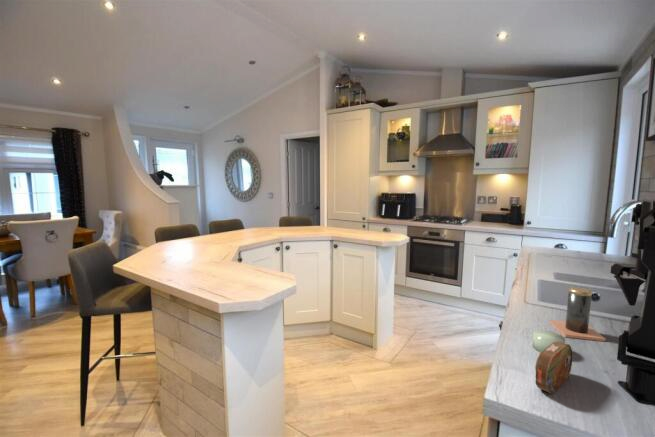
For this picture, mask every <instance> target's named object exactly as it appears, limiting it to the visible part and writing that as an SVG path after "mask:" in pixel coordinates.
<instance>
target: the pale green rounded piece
mask: <svg viewBox="0 0 655 437" xmlns="http://www.w3.org/2000/svg"><path fill="white" fill-rule="evenodd" d="M532 336H533V337H532V348H533V349H534V350H535V351H537V352H538V353H539V354H540V353H541V352H542V351H544V350H545V349H546V348H547V347H549V346H550V345H551V344H552V343H554V342H560V343H564V344H566V337H564V336H563V335H562V334H560V333H556V332H554V331H551V330H546V329H536V330H534V331H533V335H532Z"/></svg>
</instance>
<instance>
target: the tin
mask: <svg viewBox="0 0 655 437" xmlns="http://www.w3.org/2000/svg"><path fill="white" fill-rule="evenodd" d="M572 363H573V349H572V347H571V345H570V344H568V343H565V344H564V343H560V342H554V343H552V344H551V345H550V346H549V347H547V348H546V349H545V350H544V351H542V352H541V353H540V352H539V355H538V356H537V360H536V363H535V385H536V387H537V388H538V389H540V390H542V391H545V392H547V393H549V394H550V395H551V394H552V395H553V394H555V393H556V392H557V391H558V390H559V389H560V388H561V387H562V385H564V383H565V382H567V380H568V378H569V376H570V374H571V370H572Z"/></svg>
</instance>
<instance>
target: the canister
mask: <svg viewBox="0 0 655 437" xmlns="http://www.w3.org/2000/svg"><path fill="white" fill-rule="evenodd" d="M567 293H568V296H567V305H566V306H567V307H566V317H565V322H566V325H565V327H566V328H567V329H568V330H570V331H573V332H577V333H588V326H590V325H589V324H590V316H591V305H592V297H593V296H592V294H593V291H592V290H590V289H589V288H584V287H578V286H570V287H568V292H567Z"/></svg>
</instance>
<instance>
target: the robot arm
mask: <svg viewBox="0 0 655 437" xmlns="http://www.w3.org/2000/svg"><path fill="white" fill-rule="evenodd" d="M630 220H631V223H633V225H634V226H636V225H637V226H638V229H637V230H636V236H637V237H636V238H637V239H636V240H637V242H636V252H631V257H632V258H635V263H616V262H615V263H614V264H612V265H611V266H610V274H612V275H613V278H615V280H616V282H617V284H618V285H619V287H620V289H621V292H622V293H623V295H624V297H625V299H626V301H627V303H628V305H629V306H633V307H634V306H636V304H637V300H638V295H639V292H640V287H641V286H642V285H643V284H644V283H645V282H646V284H645V290H644V294H643V295H644V296H643V299H642V300H643V301H642V304H641V305H642V307H641V312H640V316H639V315H632V316H631V318H630V321H629V322H628V326H627V330H625V329H624V330H623V332H622V334H620V335H619V336H618V343H617V355H616V360H618V362H621V365H623V366H625V365H626V366H627V369H626V377H625V381H623V380H622V381H621V380H617V384H618V385H619V386H620V387H621V388H622V389H623V390H624V391H625V392H626V393H628V394H629V396H631V397H632V398H633V399H634V400H635V401H636V402H639V403H644V404H645V403H646V404H653V405H655V361H652V360H655V199H651V198H650V199H648V198H644V199H641V202H640V203H637V204H635V206H634V207H633V208H632V215H631V219H630ZM627 353H629V354H627ZM630 354H632V355H630ZM634 355H636V356H634ZM637 356H640V357H637ZM641 357H642V358H641ZM643 357H644V358H643ZM645 358H648V359H645ZM649 359H651V360H649Z"/></svg>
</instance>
